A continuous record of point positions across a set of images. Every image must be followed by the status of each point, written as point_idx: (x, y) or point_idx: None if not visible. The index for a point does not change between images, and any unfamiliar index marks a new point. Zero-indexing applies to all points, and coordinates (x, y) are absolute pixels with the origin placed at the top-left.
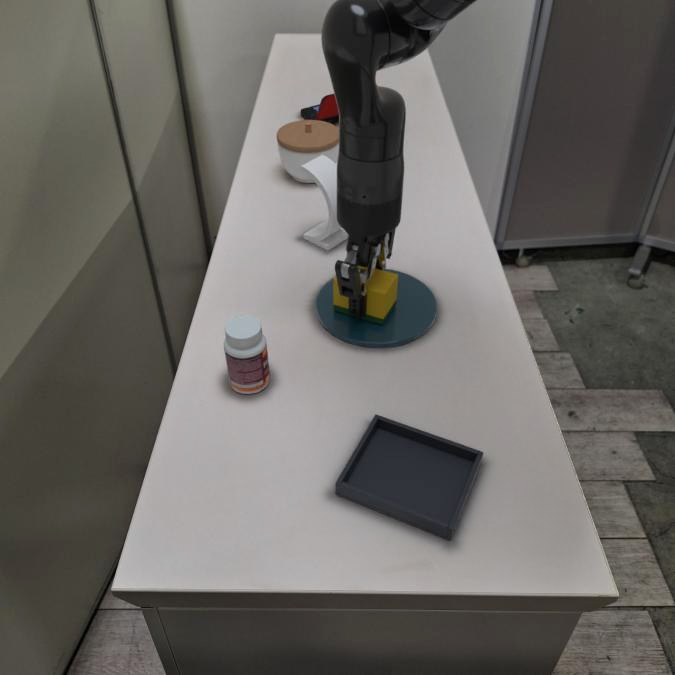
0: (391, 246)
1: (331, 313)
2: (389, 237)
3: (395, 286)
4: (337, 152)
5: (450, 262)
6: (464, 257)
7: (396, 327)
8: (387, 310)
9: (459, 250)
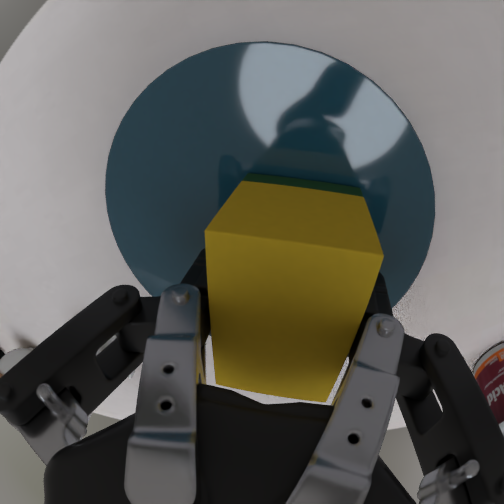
0: (94, 316)
1: None
2: (77, 359)
3: (246, 211)
4: (5, 363)
5: (33, 118)
6: (15, 102)
7: (351, 144)
8: (329, 195)
9: (7, 122)
